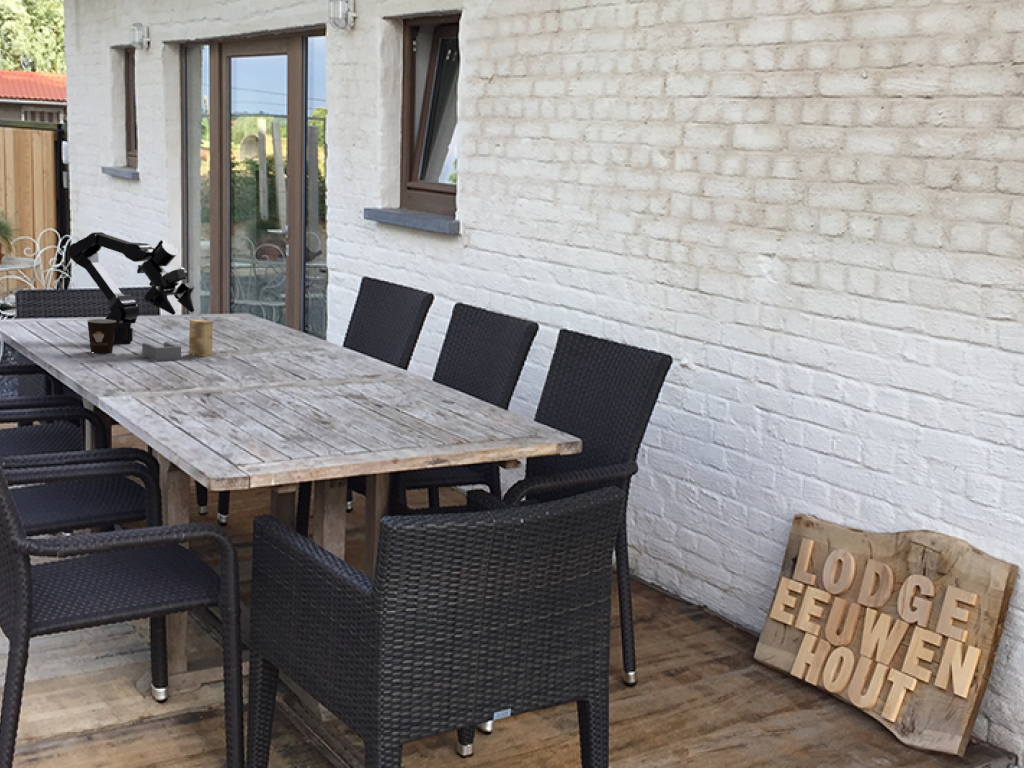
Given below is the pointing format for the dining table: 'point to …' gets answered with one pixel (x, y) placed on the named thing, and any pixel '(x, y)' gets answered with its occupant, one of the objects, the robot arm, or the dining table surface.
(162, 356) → the end cap
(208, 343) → the block
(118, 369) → the dining table surface
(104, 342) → the coffee mug
